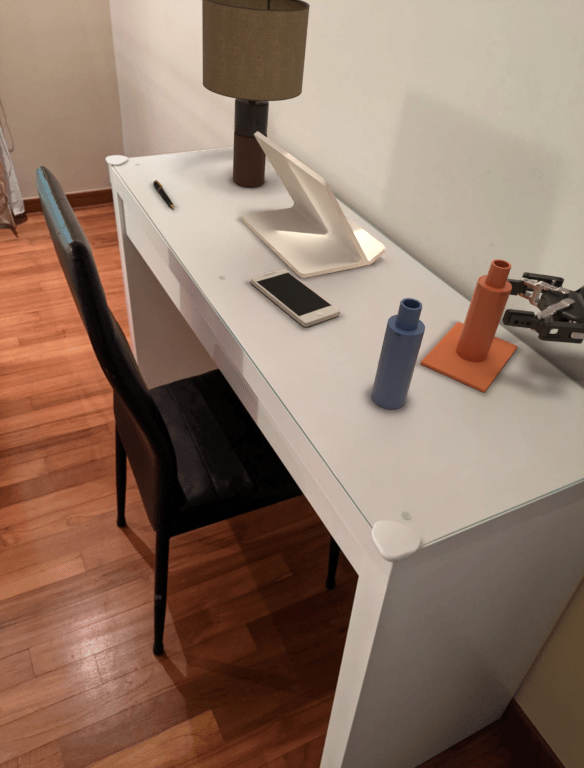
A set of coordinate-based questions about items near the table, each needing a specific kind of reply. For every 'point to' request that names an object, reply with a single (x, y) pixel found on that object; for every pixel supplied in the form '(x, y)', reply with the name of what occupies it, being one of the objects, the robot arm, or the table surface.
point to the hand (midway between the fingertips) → (498, 300)
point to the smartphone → (295, 297)
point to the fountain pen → (162, 193)
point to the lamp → (253, 68)
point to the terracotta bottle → (485, 312)
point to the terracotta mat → (465, 371)
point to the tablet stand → (310, 222)
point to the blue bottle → (398, 355)
